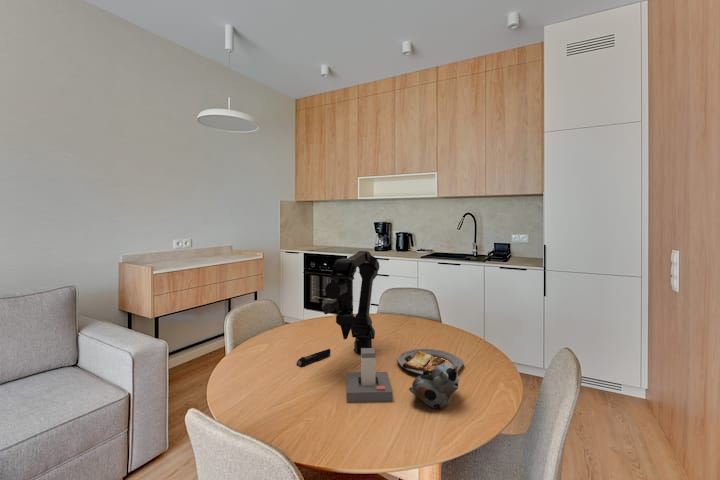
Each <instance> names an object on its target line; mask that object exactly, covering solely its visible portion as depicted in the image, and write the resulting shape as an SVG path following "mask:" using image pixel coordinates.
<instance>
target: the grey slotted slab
mask: <svg viewBox="0 0 720 480" xmlns="http://www.w3.org/2000/svg"><path fill="white" fill-rule="evenodd" d="M389 377H390V376H389V373H388V371H376V386H361V371H352V372H349V371H348V372H346V403H369V402H370V403H375V402H378V403H379V402H381V403H382V402H393V389H392V385H391V381H390V378H389Z"/></svg>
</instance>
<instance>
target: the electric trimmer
mask: <svg viewBox="0 0 720 480" xmlns="http://www.w3.org/2000/svg"><path fill="white" fill-rule="evenodd" d="M330 355H331V349H330V348H327V349H325V350H324V349H323V350H321V351H318V352H315V353H312V354H310V355H307V356H301V357H300V358H298V359H297V362H296V366H298V367H299V368H304V367H305V365H309V364H310V363H312V362H313V363H314V362H316V361H320V360H323V359H324V358H326V357H329V356H330Z"/></svg>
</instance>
